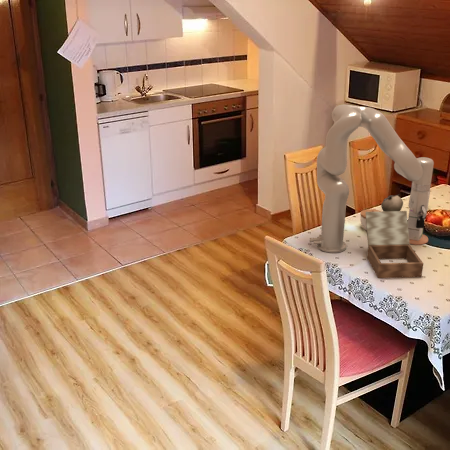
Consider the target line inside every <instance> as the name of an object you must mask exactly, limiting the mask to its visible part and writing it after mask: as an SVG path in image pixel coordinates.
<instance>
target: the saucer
mask: <svg viewBox="0 0 450 450" xmlns="http://www.w3.org/2000/svg"><path fill="white" fill-rule="evenodd" d="M428 242H429V238H428V236H427V235H425V234H422V237H421V239H420V240H419V241H416V240H411V239H409V245H412V246H413V245H414V246H422V245H426V244H428Z"/></svg>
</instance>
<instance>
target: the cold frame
mask: <svg viewBox="0 0 450 450" xmlns="http://www.w3.org/2000/svg"><path fill="white" fill-rule="evenodd" d="M366 225H367V230H366V237H367V253H366V259H367V261H368V263H369V264H370V266H371V268H372V270H373V272H374V274H375V276H376V277H377V279H393V278H394V279H399V278H401V279H402V278H406V279H407V278H422V276H423V271H424V270H423V269H424V262H423V261H422V259H421V258H420V257H419V256H418V254H417V253H416V251H415V250H414V249H413V247H412V246H411V244H409V232H408V213H407V210H400V211H383V210H382V212H366ZM395 259H396V260H398V259H400V260H401V259H403V260H404V259H405V260H406V261H407V262H381V260H395Z"/></svg>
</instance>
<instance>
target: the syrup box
mask: <svg viewBox="0 0 450 450" xmlns="http://www.w3.org/2000/svg"><path fill="white" fill-rule="evenodd" d="M420 212H422V210H421V211H420ZM420 212H419V213H420ZM420 216H421V215H420ZM417 219H418V215H417V214H414V213H413V209H412V208H409V210H408V216H407V221H408V232H409V239H411V240H416V241H419V240H420V239H421V237H422V234H423V232H424V228H416V223H417Z"/></svg>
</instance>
